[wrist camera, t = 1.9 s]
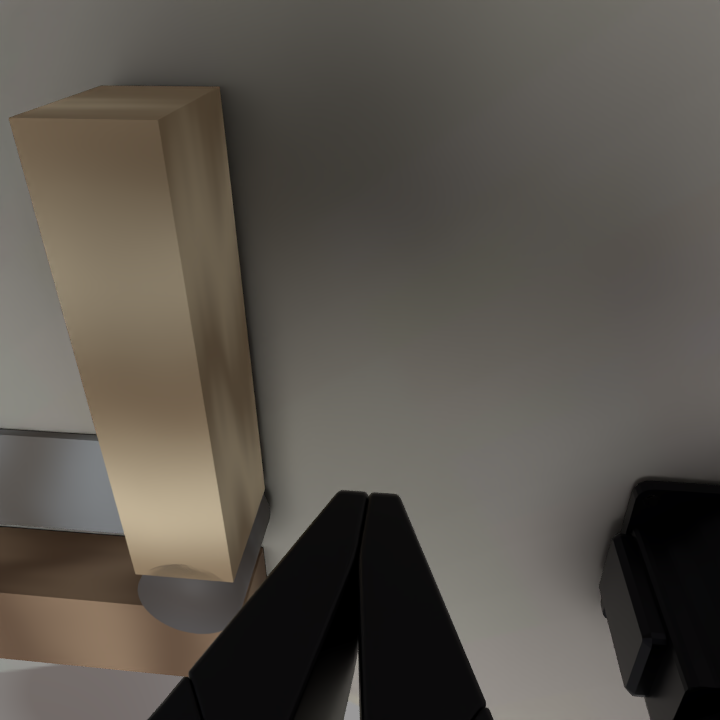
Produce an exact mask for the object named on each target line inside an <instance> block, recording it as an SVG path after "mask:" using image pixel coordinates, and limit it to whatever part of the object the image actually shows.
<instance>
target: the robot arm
mask: <svg viewBox="0 0 720 720" xmlns="http://www.w3.org/2000/svg"><path fill="white" fill-rule="evenodd" d="M649 495H655V496H653V497H651V498H645V497H647V496H649ZM599 589H600V593H601V597H602V599H601V608H602V612H603V615H604V616H605V618H607V620H608V624H609V628H610V632H611V636H612V640H613V644H614V648H615V652H616V656H617V660H618V664H619V668H620V672H621V675H622V679H623V683H624V687H625V688H626V689H627V691H628V692H629V693H630V694H631V695H632V696H637V697H644V698H645V702H646V706H647V709H648V713H649V716H650V720H720V485H709V484H693V483H678V482H663V481H645V482H642V483H639V484H638V485H637V486H635V487H634V489H633V491H632V494H631V498H630V501H629V505H628V508H627V512H626V515H625V519H624V522H623V526H622V529H621V533H620V534H617V535H616V536H615V537H614V538H613V539H612V540H611V544H610V547H609V551H608V555H607V558H606V562H605V566H604V569H603V573H602V576H601V580H600V584H599ZM357 654H358V655H359V706H360V720H493V717H492V715H491V712H490V710H489V709H488V708H486V701H485V699H484V697H483V694H482V692H481V689H480V687H479V685H478V682H477V680H476V677H475V675H474V673H473V670H472V668H471V665H470V663H469V661H468V658H467V656H466V654H465V651H464V649H463V646H462V644H461V642H460V639H459V637H458V634H457V632H456V630H455V627H454V625H453V622H452V620H451V618H450V615H449V613H448V610H447V608H446V606H445V603H444V601H443V598H442V596H441V594H440V591H439V589H438V587H437V584H436V582H435V579H434V577H433V575H432V572H431V570H430V567H429V565H428V563H427V560H426V558H425V555H424V553H423V551H422V548H421V546H420V543H419V541H418V539H417V536H416V534H415V532H414V529H413V527H412V524H411V522H410V520H409V517H408V515H407V512H406V510H405V508H404V505H403V503H402V500H401V498H400V497H399V496H398V495H397V494H389V493H375V492H374V493H371V494H370V496H368V494H367V493H366V492H361V491H347V490H341V491H339V492H338V493H337V494H336V495H335V496H334V497H333V498H332V499H331V501H330V502H329V503H328V504H327V505H326V507H325V508H324V509H323V510H322V512H321V513H320V514H319V515H318V516H317V518H316V519H315V520H314V521H313V522H312V524H311V525H310V526H309V527H308V528H307V530H306V531H305V532H304V533H303V534H302V536H301V537H300V538H299V539H298V540H297V542H296V543H295V544H294V545H293V546H292V548H291V549H290V550H289V551H288V552H287V554H286V555H285V556H284V557H283V558H282V560H281V561H280V562H279V563H278V564H277V566H276V567H275V568H274V569H273V570H272V572H271V573H270V574H269V575H268V576H267V578H266V579H265V580H264V581H263V583H262V584H261V585H260V586H259V587H258V589H257V590H256V591H255V592H254V593H253V595H252V596H251V597H250V598H249V599H248V601H247V602H246V603H245V604H244V605H243V607H242V608H241V609H240V610H239V611H238V613H237V614H236V615H235V616H234V617H233V619H232V620H231V621H230V622H229V623H228V625H227V626H226V627H225V628H224V629H223V631H222V632H221V633H220V634H219V635H218V637H217V638H216V639H215V640H214V641H213V643H212V644H211V645H210V646H209V648H208V649H207V650H206V651H205V652H204V654H203V655H202V656H201V657H200V658H199V660H198V661H197V662H196V663H195V664H194V666H193V667H192V668H191V669H190V670H189V672H188V675H189V677H186V676H185V677H183V679H182V680H181V681H180V682H179V683H178V684H177V686H176V687H175V688H174V689H173V690H172V692H171V693H170V694H169V695H168V697H167V698H166V699H165V700H164V702H163V703H162V704H161V705H160V706H159V707H158V708H157V709H156V711H155V712H154V713H153V714H152V715H151V716H150V718H149V719H148V720H344V715H345V711H346V706H347V702H348V697H349V693H350V688H351V684H352V679H353V675H354V670H355V665H356V659H357Z"/></svg>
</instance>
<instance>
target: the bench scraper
mask: <svg viewBox="0 0 720 720" xmlns="http://www.w3.org/2000/svg"><path fill="white" fill-rule="evenodd" d="M0 524H8V525H21V526H34V527H46V528H59V529H72V530H84V531H97V532H110V533H123V534H124V531H123V527H122V524H121V520H120V517H119V513H118V509H117V506H116V502H115V499H114V495H113V491H112V488H111V484H110V481H109V477H108V473H107V470H106V466H105V463H104V459H103V455H102V452H101V448H100V445H99V441H98V438H97V435H84V434H68V433H53V432H37V431H21V430H6V429H0ZM141 577H142V575H139V574H135V570H134V567H133V563H132V560H131V556H130V553H129V549H128V545H127V542H126V538H125V537H124V536H111V535H98V534H86V533H73V532H60V531H48V530H35V529H23V528H10V527H0V658H5V659H15V660H25V661H35V662H45V663H55V664H65V665H76V666H85V667H96V668H105V669H116V670H125V671H135V672H145V673H155V674H165V675H176V676H186V677H189V675H188V672H189V670H190V669H191V668H192V667H193V666H194V664H195V663H196V662H197V661H198V660H199V658H200V657H201V656H202V655H203V654H204V652H205V651H206V650H207V649H208V648H209V646H210V645H211V644H212V643H213V641H214V640H215V639H216V638H217V637H218V635H219V634H220V633H221V632H222V631H220V632H217V633H211V634H195V633H189V632H184V631H180V630H177V629H175V628H172V627H170V626H168V625H165V624H164V623H162V622H160V621H159V620H157V619H156V618H155V617H153V616H152V615H151V614H150V613H149V612H148V611H147V610H146V609H145V607H144V606H143V605H142V603H141V601H140V599H139V596H138V584H139V581H140V579H141ZM266 578H267V577H266V568H265V560H264V552H263V548H262V547H261V548H260V551H259V554H258V557H257V561H256V564H255V567H254V570H253V573H252V577H251V580H250V583H249V586H248V589H247V593H246V596H245V599H244V602H243V605H244V604H245V603H246V602H247V601H248V599H249V598H250V597H251V596H252V595H253V593H254V592H255V591H256V590H257V589H258V587H259V586H260V585H261V584H262V583H263V581H264V580H265V579H266ZM243 605H242V607H243Z"/></svg>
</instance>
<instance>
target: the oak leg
mask: <svg viewBox="0 0 720 720" xmlns="http://www.w3.org/2000/svg"><path fill="white" fill-rule="evenodd" d="M9 121H10V125H11V128H12V132H13V136H14V139H15V143H16V146H17V150H18V154H19V157H20V161H21V164H22V168H23V172H24V175H25V179H26V182H27V186H28V189H29V193H30V197H31V200H32V204H33V207H34V211H35V215H36V218H37V222H38V225H39V229H40V233H41V236H42V240H43V243H44V247H45V251H46V254H47V258H48V261H49V265H50V269H51V272H52V276H53V279H54V283H55V287H56V290H57V294H58V297H59V301H60V305H61V308H62V312H63V315H64V319H65V322H66V326H67V330H68V333H69V337H70V340H71V344H72V348H73V351H74V355H75V358H76V362H77V366H78V369H79V373H80V376H81V380H82V384H83V387H84V391H85V394H86V398H87V402H88V405H89V409H90V412H91V416H92V420H93V423H94V427H95V430H96V434H97V438H98V441H99V445H100V448H101V452H102V455H103V459H104V463H105V466H106V470H107V473H108V477H109V481H110V484H111V488H112V491H113V495H114V499H115V502H116V506H117V509H118V513H119V517H120V520H121V524H122V527H123V531H124V535H125V538H126V542H127V545H128V549H129V553H130V556H131V560H132V563H133V567H134V570H135V574H139V575H142V577H141V579H140V581H139V584H138V596H139V599H140V601H141V603H142V605H143V606H144V607H145V609H146V610H147V611H148V612H149V613H150V614H151V615H152V616H153V617H155V618H156V619H157V620H159V621H160V622H162V623H164V624H165V625H168V626H170V627H172V628H175V629H177V630H180V631H184V632H189V633H195V634H211V633H217V632H220V631H223V629H224V628H225V627H226V626H227V625H228V623H229V622H230V621H231V620H232V619H233V617H234V616H235V615H236V614H237V613H238V611H239V610H240V609H241V608H242V605H243V602H244V599H245V596H246V593H247V589H248V586H249V583H250V580H251V577H252V573H253V570H254V567H255V564H256V561H257V557H258V554H259V551H260V548H261V544H262V541H263V538H264V535H265V532H266V528H267V525H268V522H269V519H270V507H269V504H268V501H267V499H266V498H265V496H264V495H263V493H264V490H265V485H264V476H263V467H262V458H261V449H260V440H259V431H258V422H257V414H256V405H255V396H254V387H253V378H252V369H251V360H250V351H249V343H248V334H247V325H246V316H245V307H244V298H243V289H242V280H241V271H240V263H239V254H238V245H237V236H236V227H235V218H234V209H233V200H232V191H231V183H230V174H229V165H228V156H227V147H226V138H225V129H224V120H223V112H222V103H221V94H220V87H204V86H98V87H96V88H93V89H90V90H87V91H84V92H81V93H78V94H76V95H73V96H70V97H67V98H64V99H61V100H58V101H55V102H53V103H50V104H47V105H44V106H41V107H38V108H35V109H33V110H30V111H27V112H24V113H21V114H18V115H15V116H13V117H10V118H9Z"/></svg>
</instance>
